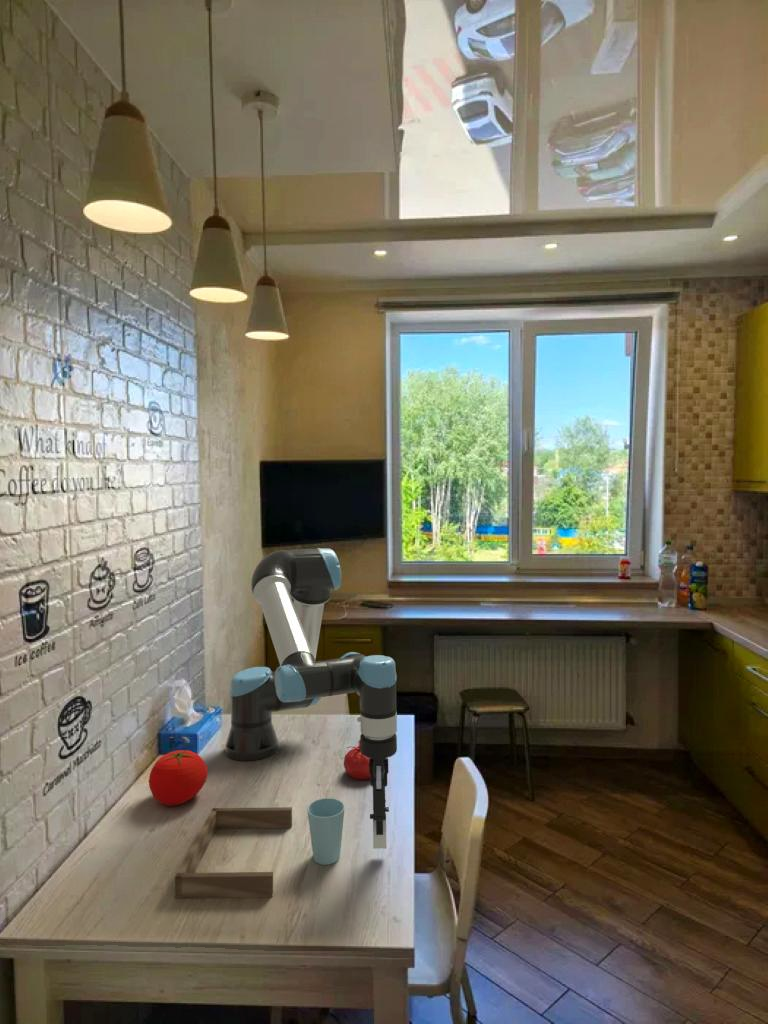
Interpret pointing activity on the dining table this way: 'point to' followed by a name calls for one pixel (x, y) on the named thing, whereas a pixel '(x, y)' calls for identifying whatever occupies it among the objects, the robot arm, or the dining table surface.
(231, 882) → the corral
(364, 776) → the pomegranate
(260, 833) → the dining table surface
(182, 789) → the tomato
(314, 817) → the cup
